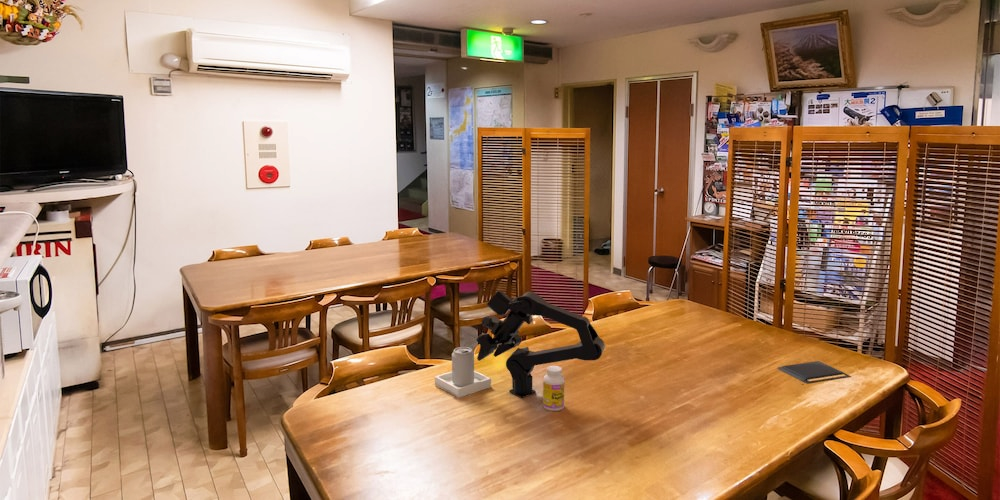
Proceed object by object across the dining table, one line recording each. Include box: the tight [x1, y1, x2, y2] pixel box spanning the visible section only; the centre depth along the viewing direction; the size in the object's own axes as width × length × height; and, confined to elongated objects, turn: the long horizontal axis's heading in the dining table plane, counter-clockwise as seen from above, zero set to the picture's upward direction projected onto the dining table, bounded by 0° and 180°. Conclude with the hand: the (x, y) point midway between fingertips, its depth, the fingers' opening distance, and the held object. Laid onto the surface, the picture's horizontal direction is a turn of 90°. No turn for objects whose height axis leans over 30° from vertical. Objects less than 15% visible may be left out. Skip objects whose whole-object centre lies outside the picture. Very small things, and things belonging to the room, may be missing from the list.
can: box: [451, 346, 475, 387], centre depth 207 cm, size 8×8×12 cm
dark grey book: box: [777, 360, 852, 385], centre depth 220 cm, size 20×2×15 cm
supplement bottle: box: [542, 365, 566, 412], centre depth 192 cm, size 7×7×13 cm
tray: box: [434, 369, 492, 399], centre depth 209 cm, size 14×14×3 cm
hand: (486, 357), depth 206 cm, fingers open, 9 cm apart
